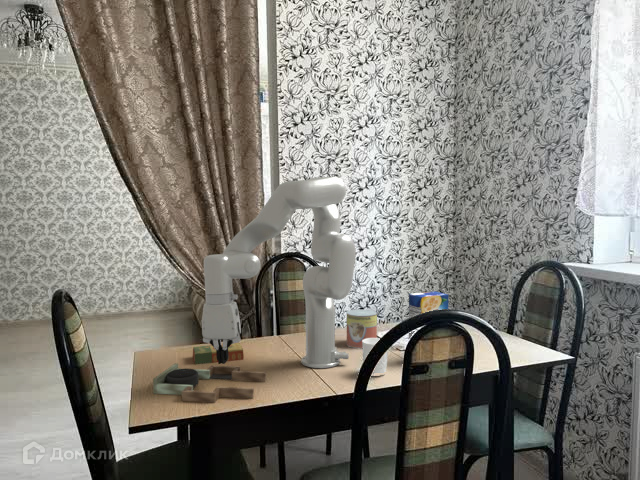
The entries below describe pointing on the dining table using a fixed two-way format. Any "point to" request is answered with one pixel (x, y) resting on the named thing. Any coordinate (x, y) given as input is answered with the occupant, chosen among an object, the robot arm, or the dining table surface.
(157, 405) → the dining table surface
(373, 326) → the canned food
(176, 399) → the dining table surface
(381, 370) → the white cup
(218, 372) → the wooden flat frame
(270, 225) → the robot arm
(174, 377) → the smart speaker
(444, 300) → the beverage box
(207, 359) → the carton
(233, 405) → the dining table surface
